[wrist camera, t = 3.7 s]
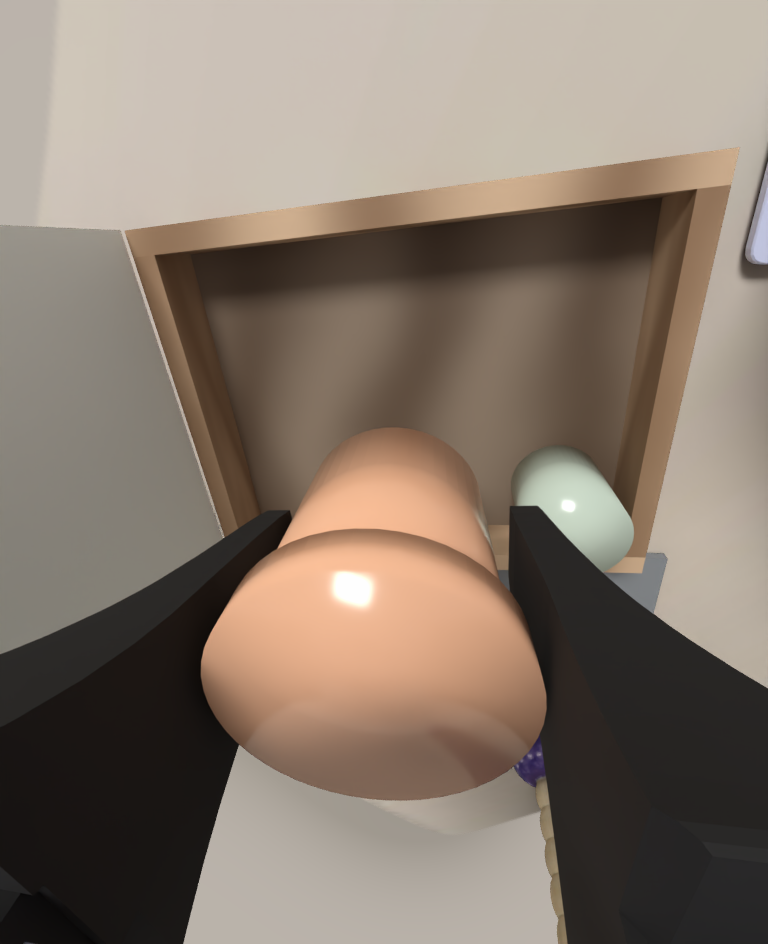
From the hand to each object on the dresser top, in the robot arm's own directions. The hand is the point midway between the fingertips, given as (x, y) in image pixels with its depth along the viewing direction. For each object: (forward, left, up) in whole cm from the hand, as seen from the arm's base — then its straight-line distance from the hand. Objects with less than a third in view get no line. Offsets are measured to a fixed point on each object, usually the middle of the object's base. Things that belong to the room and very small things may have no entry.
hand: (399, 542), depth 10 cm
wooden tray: (0, -1, -9) cm, 9 cm away
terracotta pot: (0, 0, -2) cm, 2 cm away
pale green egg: (-6, +3, -8) cm, 11 cm away
